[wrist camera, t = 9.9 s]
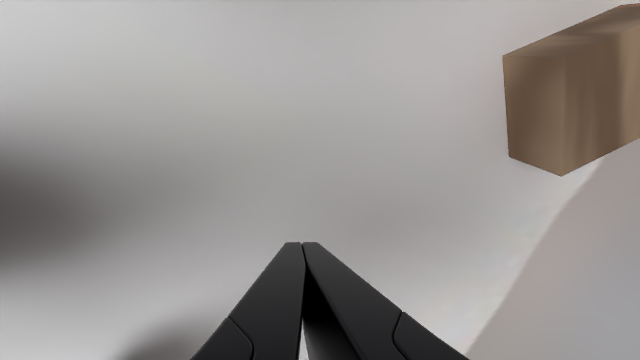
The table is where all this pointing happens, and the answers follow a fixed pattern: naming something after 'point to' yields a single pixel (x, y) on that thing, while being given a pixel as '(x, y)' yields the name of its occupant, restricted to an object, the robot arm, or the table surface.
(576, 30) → the walnut block
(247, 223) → the table surface
